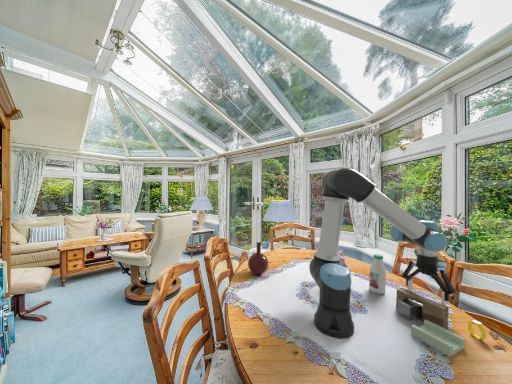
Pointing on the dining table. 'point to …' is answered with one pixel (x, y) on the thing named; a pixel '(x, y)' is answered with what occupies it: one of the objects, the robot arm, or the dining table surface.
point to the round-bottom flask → (258, 261)
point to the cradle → (439, 338)
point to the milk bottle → (377, 275)
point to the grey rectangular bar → (410, 309)
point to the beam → (427, 307)
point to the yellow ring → (479, 327)
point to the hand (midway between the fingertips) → (425, 299)
